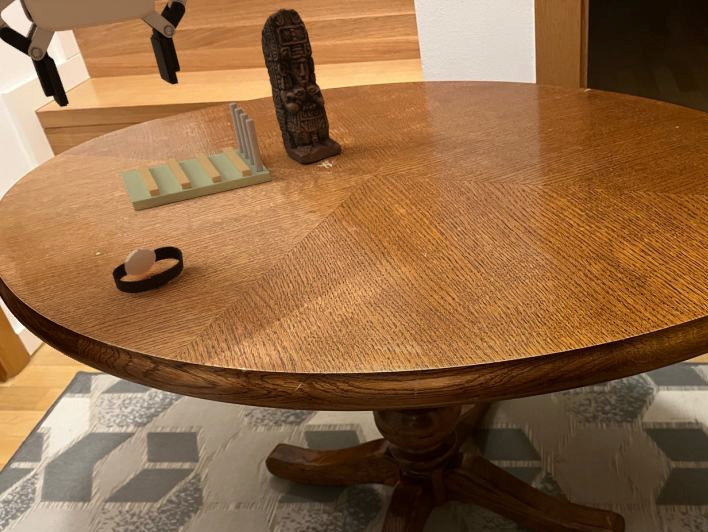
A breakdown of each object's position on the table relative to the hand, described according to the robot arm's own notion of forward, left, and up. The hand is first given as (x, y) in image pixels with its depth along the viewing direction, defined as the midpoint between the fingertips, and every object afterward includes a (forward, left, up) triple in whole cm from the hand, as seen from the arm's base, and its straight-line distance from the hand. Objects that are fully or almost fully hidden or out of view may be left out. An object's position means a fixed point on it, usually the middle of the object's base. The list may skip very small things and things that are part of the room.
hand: (117, 92), depth 67 cm
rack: (+8, +28, -20) cm, 35 cm away
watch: (-2, +1, -20) cm, 20 cm away
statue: (+25, +29, -20) cm, 43 cm away
